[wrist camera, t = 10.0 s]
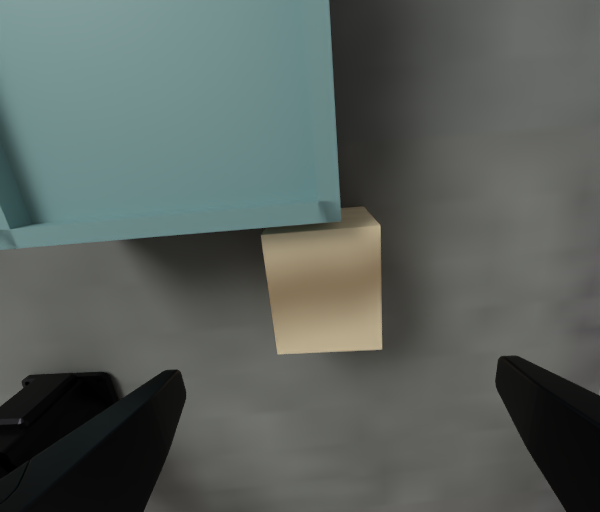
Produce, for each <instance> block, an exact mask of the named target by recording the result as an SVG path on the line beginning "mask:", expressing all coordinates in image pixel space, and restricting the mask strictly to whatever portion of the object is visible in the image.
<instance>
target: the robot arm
mask: <svg viewBox="0 0 600 512" xmlns="http://www.w3.org/2000/svg"><path fill="white" fill-rule="evenodd" d="M495 383H496V388H497V390H498V393H499V395H500V397H501V398H502V400H503V402H504V404H505V406H506V408H507V410H508V412H509V414H510V416H511V418H512V420H513V422H514V424H515V426H516V428H517V430H518V432H519V434H520V436H521V438H522V440H523V442H524V444H525V446H526V447H527V449H528V451H529V452H530V454H531V456H532V458H533V459H534V461H535V462H536V464H537V466H538V467H539V469H540V470H541V472H542V473H543V475H544V477H545V478H546V480H547V481H548V483H549V485H550V486H551V488H552V489H553V491H554V493H555V494H556V496H557V497H558V499H559V501H560V502H561V504H562V505H563V507H564V509H565V510H566V512H600V396H599V395H597V394H595V393H593V392H591V391H589V390H587V389H585V388H583V387H581V386H579V385H577V384H575V383H573V382H570V381H568V380H566V379H564V378H562V377H560V376H558V375H556V374H554V373H552V372H550V371H548V370H546V369H544V368H542V367H539V366H537V365H535V364H533V363H531V362H529V361H527V360H525V359H523V358H521V357H519V356H501V357H500V358H499V359H498V364H497V372H496V379H495ZM22 385H23V389H22V390H21V391H19V392H18V393H17V394H16V395H14V396H13V397H12V398H10V399H9V400H8V401H7V402H5V403H4V404H3V405H2V406H0V512H144V509H145V507H146V505H147V502H148V500H149V498H150V495H151V493H152V491H153V488H154V486H155V484H156V481H157V479H158V477H159V474H160V472H161V470H162V467H163V465H164V463H165V460H166V458H167V455H168V453H169V450H170V447H171V444H172V441H173V438H174V435H175V432H176V428H177V425H178V422H179V419H180V416H181V413H182V410H183V407H184V404H185V400H186V389H185V386H184V382H183V378H182V375H181V372H180V371H179V370H165V371H163V372H161V373H160V374H158V375H157V376H155V377H154V378H152V379H151V380H149V381H148V382H146V383H145V384H143V385H142V386H140V387H139V388H137V389H136V390H134V391H133V392H131V393H130V394H128V395H127V396H125V397H124V398H122V399H121V400H119V401H118V398H117V396H116V393H115V390H114V387H113V384H112V382H111V379H110V377H109V375H108V374H107V373H105V372H86V373H63V374H41V375H29V376H27V377H26V378H25V379H23V380H22Z"/></svg>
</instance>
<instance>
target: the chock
mask: <svg viewBox="0 0 600 512" xmlns="http://www.w3.org/2000/svg"><path fill="white" fill-rule="evenodd" d="M261 241H262V248H263V255H264V262H265V269H266V276H267V283H268V290H269V297H270V304H271V311H272V318H273V325H274V332H275V339H276V346H277V353H278V354H296V353H318V352H340V351H362V350H382V303H381V228H380V224H379V223H378V222H377V221H376V220H375V219H374V218H373V216H372V215H371V214H370V213H369V212H368V211H367V210H366V208H365V207H364V206H360V207H349V208H341V221H339V222H327V223H315V224H303V225H291V226H279V227H267V228H266V229H265V230H264V231H263V233H262V234H261Z"/></svg>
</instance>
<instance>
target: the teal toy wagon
mask: <svg viewBox="0 0 600 512" xmlns="http://www.w3.org/2000/svg"><path fill="white" fill-rule="evenodd" d="M339 221H341V207H340V189H339V171H338V153H337V135H336V117H335V99H334V81H333V63H332V45H331V27H330V9H329V0H0V250H4V249H16V248H28V247H40V246H52V245H64V244H76V243H88V242H100V241H112V240H124V239H136V238H148V237H160V236H172V235H184V234H196V233H208V232H220V231H232V230H244V229H256V228H267V227H279V226H291V225H303V224H315V223H327V222H339Z"/></svg>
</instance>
